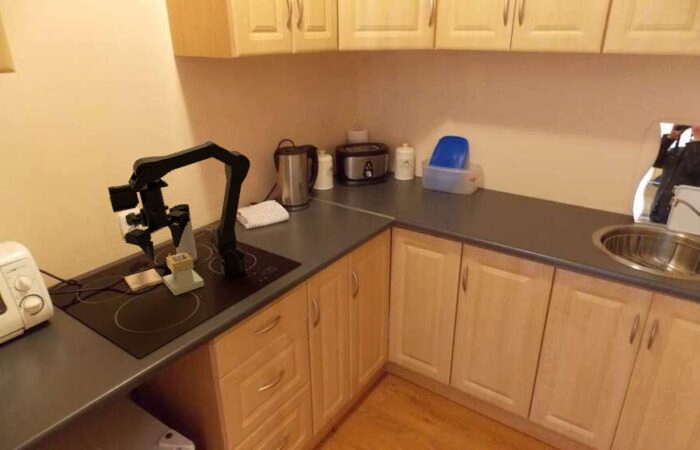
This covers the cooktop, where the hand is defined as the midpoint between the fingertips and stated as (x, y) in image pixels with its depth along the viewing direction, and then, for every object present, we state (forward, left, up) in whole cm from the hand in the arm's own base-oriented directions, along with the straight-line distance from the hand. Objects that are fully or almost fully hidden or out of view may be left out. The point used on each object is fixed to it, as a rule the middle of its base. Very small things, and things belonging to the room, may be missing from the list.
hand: (164, 253), depth 135 cm
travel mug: (-11, -17, -13) cm, 24 cm away
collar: (-4, -2, -6) cm, 8 cm away
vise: (-4, -2, -12) cm, 13 cm away
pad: (+5, -12, -12) cm, 17 cm away
